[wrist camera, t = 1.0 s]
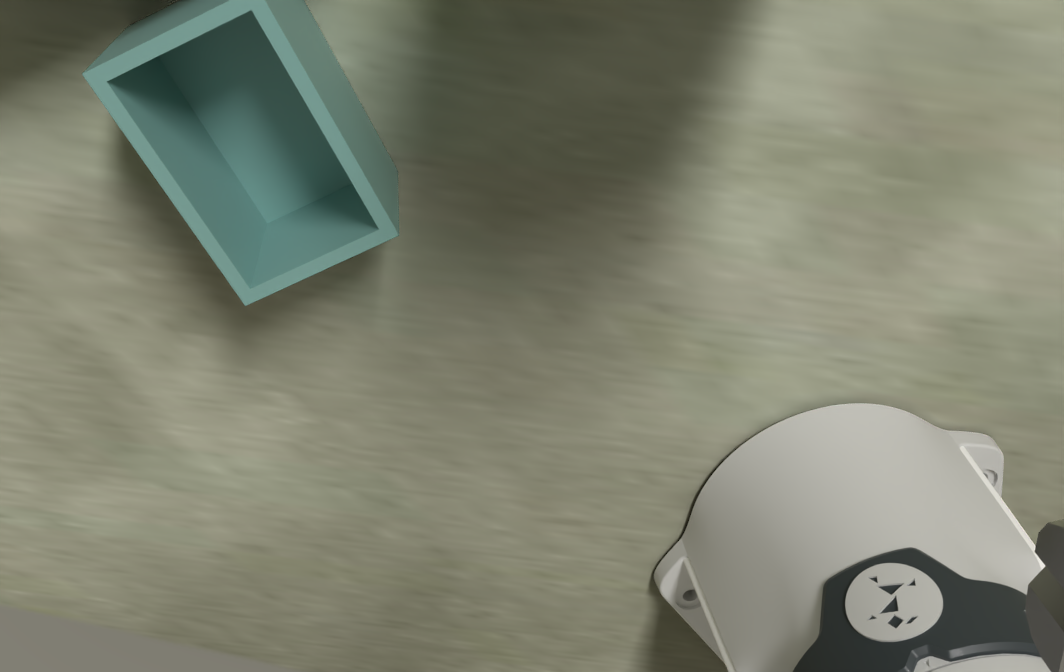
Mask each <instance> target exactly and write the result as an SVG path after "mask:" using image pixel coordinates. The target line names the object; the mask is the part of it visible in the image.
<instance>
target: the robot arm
mask: <svg viewBox="0 0 1064 672" xmlns="http://www.w3.org/2000/svg"><path fill="white" fill-rule="evenodd" d="M1003 466H1004V457H1003V453H1002V451H1001V450H1000V448H999V447H998V445H997V444H996V442H995V441H994V439H993V438H992V437H990V436H988V435H985V434H981V433H975V432H965V431H948V430H944V429H941V428H938V427H936V426H934V425H932V424H930V423H928V422H926V421H925V420H923V419H921V418H919V417H918V416H916V415H914V414H911V413H909V412H907V411H904V410H901V409H897V408H894V407H890V406H885V405H878V404H865V403H853V404H840V405H833V406H827V407H822V408H818V409H814V410H810V411H807V412H804V413H801V414H798V415H795V416H792V417H790V418H787V419H785V420H783V421H781V422H778V423H776V424H774V425H773V426H771V427H769V428H767V429H765V430H763V431H762V432H760V433H758V434H757V435H755V436H754V437H752V438H751V439H749V440H748V441H747V442H745V443H744V444H743V445H741V446H740V447H739V448H738V449H736V450H735V451H734V452H733V453H732V454H731V455H730V456H729V457H728V458H726V459H725V460H724V462H723V463H722V464H721V465H720V466H719V467H718V468H717V469H716V470H715V472H714V473H713V474H712V475H711V477H710V478H709V480H708V481H707V482H706V484H705V486H704V487H703V489H702V490H701V492H700V494H699V496H698V498H697V500H696V503H695V505H694V507H693V510H692V513H691V516H690V519H689V522H688V525H687V528H686V530H685V532H684V534H683V536H682V538H681V539H680V540H679V541H678V542H677V543H676V545H675V546H674V547H673V548H672V549H671V550H670V551H669V552H668V553H667V554H666V556H665V557H664V558H663V559H662V561H661V562H660V563H659V565H658V566H657V568H656V570H655V573H654V580H655V583H656V585H657V587H658V589H659V591H660V593H661V595H662V596H663V597H664V599H665V600H666V601H667V602H668V603H669V604H670V605H671V606H672V607H673V608H674V609H675V610H676V612H677V613H678V614H679V615H680V616H681V617H682V618H683V619H684V620H685V621H686V622H687V623H688V624H689V626H690V627H691V628H692V629H693V630H694V631H695V632H696V633H697V634H698V635H699V636H700V637H701V639H702V640H703V641H704V642H705V643H706V644H707V645H708V646H709V647H710V648H711V649H712V650H713V652H714V653H715V654H716V655H717V656H718V657H719V658H720V659H721V660H722V661H723V662H724V663H725V665H726V667H727V670H728V672H1064V519H1062V520H1058V521H1053V522H1048V523H1047V524H1046V525H1045V526H1044V527H1043V529H1042V530H1041V531H1040V532H1039V534H1038V538H1037V543H1036V546H1035V545H1034V543H1033V542H1032V541H1031V539H1030V538H1029V536H1028V535H1027V533H1026V532H1025V531H1024V529H1023V528H1022V526H1021V525H1020V524H1019V522H1018V521H1017V519H1016V518H1015V517H1014V515H1013V514H1012V512H1011V511H1010V510H1009V508H1008V507H1007V505H1006V504H1005V503H1004V501H1003V500H1002V499H1001V497H1002V481H1003ZM688 590H689V591H688Z"/></svg>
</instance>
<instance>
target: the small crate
mask: <svg viewBox="0 0 1064 672" xmlns="http://www.w3.org/2000/svg"><path fill="white" fill-rule="evenodd" d="M82 75H83V76H84V78H85V79H86V81H87V82H88V83H89V85H90V86H91V88H92V89H93V90H94V92H95V93H96V95H97V96H98V98H99V99H100V100H101V102H102V103H103V105H104V106H105V107H106V109H107V110H108V112H109V113H110V115H111V116H112V117H113V119H114V120H115V122H116V123H117V125H118V126H119V127H120V129H121V130H122V132H123V133H124V134H125V136H126V137H127V139H128V140H129V142H130V143H131V144H132V146H133V147H134V149H135V150H136V152H137V153H138V154H139V156H140V157H141V159H142V160H143V161H144V163H145V164H146V166H147V167H148V169H149V170H150V171H151V173H152V174H153V176H154V177H155V178H156V180H157V181H158V183H159V184H160V186H161V187H162V188H163V190H164V191H165V193H166V194H167V196H168V197H169V198H170V200H171V201H172V203H173V204H174V205H175V207H176V208H177V210H178V211H179V213H180V214H181V215H182V217H183V218H184V220H185V221H186V222H187V224H188V225H189V227H190V228H191V230H192V231H193V232H194V234H195V235H196V237H197V238H198V240H199V241H200V242H201V244H202V245H203V247H204V248H205V249H206V251H207V252H208V254H209V255H210V257H211V258H212V259H213V261H214V262H215V264H216V265H217V267H218V268H219V269H220V271H221V272H222V274H223V275H224V276H225V278H226V279H227V281H228V282H229V284H230V285H231V286H232V288H233V289H234V291H235V292H236V293H237V295H238V296H239V298H240V299H241V301H242V302H243V303H244V305H245V306H246V305H249V304H251V303H253V302H255V301H257V300H260V299H262V298H264V297H266V296H268V295H270V294H273V293H275V292H277V291H279V290H281V289H284V288H286V287H288V286H290V285H292V284H294V283H297V282H299V281H301V280H303V279H305V278H307V277H310V276H312V275H314V274H316V273H318V272H321V271H323V270H325V269H327V268H329V267H331V266H334V265H336V264H338V263H340V262H342V261H345V260H347V259H349V258H351V257H353V256H355V255H358V254H360V253H362V252H364V251H366V250H369V249H371V248H373V247H375V246H377V245H379V244H382V243H384V242H386V241H388V240H390V239H393V238H395V237H397V236H399V201H398V171H397V169H396V167H395V165H394V163H393V161H392V160H391V158H390V156H389V154H388V152H387V151H386V149H385V147H384V145H383V143H382V141H381V140H380V138H379V136H378V134H377V132H376V131H375V129H374V127H373V125H372V123H371V121H370V120H369V118H368V116H367V114H366V112H365V110H364V109H363V107H362V105H361V103H360V101H359V100H358V98H357V96H356V94H355V92H354V90H353V89H352V87H351V85H350V83H349V81H348V79H347V78H346V76H345V74H344V72H343V70H342V69H341V67H340V65H339V63H338V61H337V59H336V58H335V56H334V54H333V52H332V50H331V49H330V47H329V45H328V43H327V41H326V39H325V38H324V36H323V34H322V32H321V30H320V28H319V27H318V25H317V23H316V21H315V19H314V18H313V16H312V14H311V12H310V10H309V8H308V7H307V5H306V3H305V1H304V0H180V1H178V2H176V3H174V4H172V5H170V6H168V7H166V8H164V9H162V10H160V11H158V12H156V13H154V14H152V15H150V16H148V17H146V18H144V19H142V20H140V21H138V22H136V23H134V24H132V25H130V26H128V27H127V28H126V29H125V30H124V31H123V32H122V33H121V34H120V35H119V36H118V37H117V38H116V39H115V40H114V41H113V42H112V43H111V44H110V45H109V46H108V47H107V49H106V50H105V51H104V52H103V53H102V54H101V55H100V56H99V57H98V58H97V59H96V60H95V61H94V62H93V63H92V64H91V65H90V66H89V67H88V68H87V69H86V70H85V71H84V72H83V73H82Z"/></svg>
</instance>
